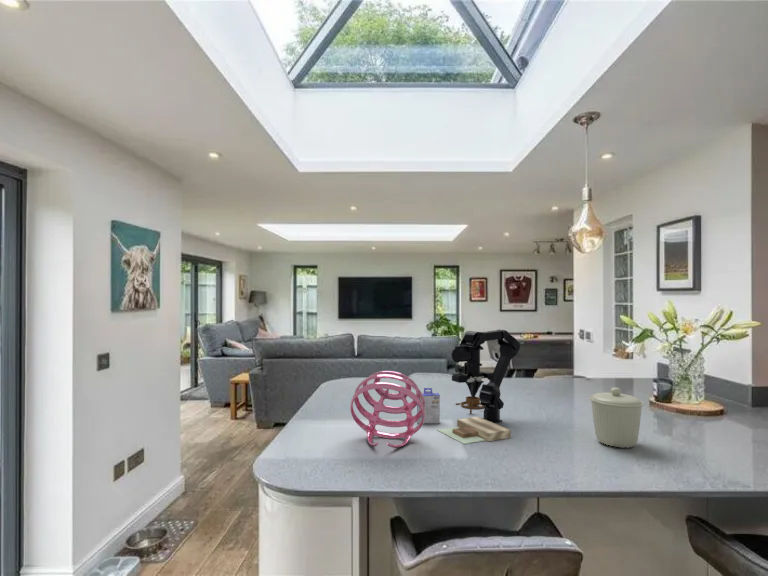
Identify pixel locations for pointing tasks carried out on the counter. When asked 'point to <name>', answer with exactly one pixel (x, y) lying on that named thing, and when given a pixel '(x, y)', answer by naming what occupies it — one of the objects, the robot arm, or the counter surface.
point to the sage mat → (462, 440)
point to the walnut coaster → (465, 432)
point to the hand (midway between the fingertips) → (473, 397)
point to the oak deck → (485, 428)
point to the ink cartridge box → (430, 407)
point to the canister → (616, 418)
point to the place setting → (471, 403)
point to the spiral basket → (381, 407)
